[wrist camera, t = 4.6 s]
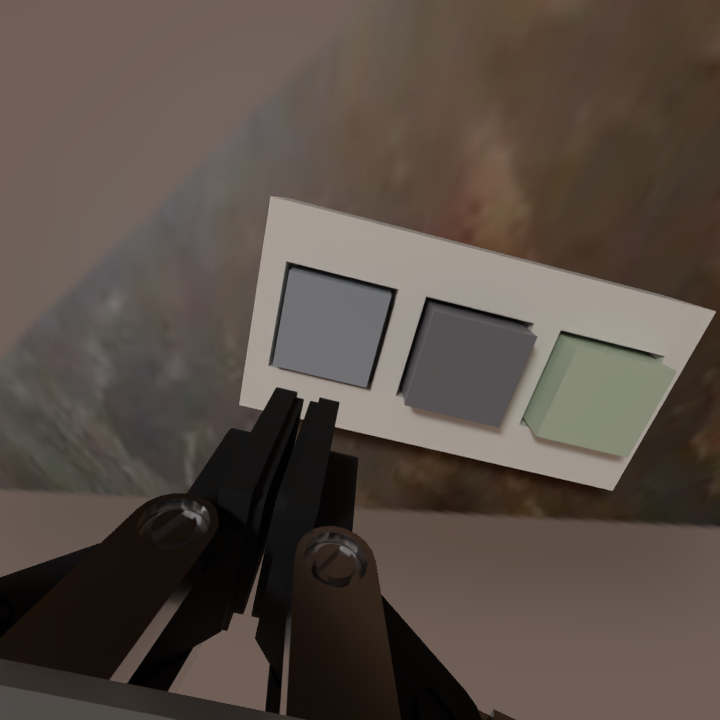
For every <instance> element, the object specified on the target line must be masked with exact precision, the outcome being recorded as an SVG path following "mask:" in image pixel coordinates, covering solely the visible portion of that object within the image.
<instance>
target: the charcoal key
mask: <svg viewBox="0 0 720 720" xmlns="http://www.w3.org/2000/svg"><path fill="white" fill-rule="evenodd" d="M536 339H537V336H536V335H535V334H534V333H532V332H531V331H530V330H529V329H527V328H526V327H525V326H524V325H522V324H521V323H520V322H519V321H517V320H515V319H511V318H507V317H503V316H499V315H495V314H491V313H487V312H483V311H479V310H475V309H471V308H467V307H463V306H459V305H455V304H451V303H447V302H443V301H439V300H435V299H431V298H426V301H425V304H424V307H423V311H422V314H421V317H420V320H419V324H418V327H417V330H416V333H415V337H414V340H413V343H412V346H411V350H410V353H409V356H408V360H407V363H406V366H405V369H404V373H403V376H402V379H401V385H402V392H403V399H404V405H405V406H410V407H414V408H418V409H422V410H427V411H431V412H435V413H439V414H444V415H448V416H452V417H457V418H461V419H465V420H469V421H474V422H478V423H482V424H486V425H491V426H495V427H500V424H501V422H502V420H503V417H504V415H505V413H506V410H507V408H508V406H509V403H510V401H511V398H512V396H513V394H514V391H515V389H516V387H517V384H518V382H519V380H520V377H521V375H522V372H523V370H524V368H525V365H526V363H527V361H528V358H529V356H530V354H531V351H532V349H533V346H534V344H535V342H536Z"/></svg>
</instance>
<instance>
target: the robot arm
mask: <svg viewBox="0 0 720 720" xmlns="http://www.w3.org/2000/svg"><path fill="white" fill-rule="evenodd" d="M303 403H304V399H302V398H297V392H296V391H292V390H287V389H283V388H279V387H276V389H275V390H274V392H273V394H272V396H271V397H270V399H269V401H268V403H267V405H266V406H265V408H264V410H263V412H262V413H261V415H260V417H259V419H258V421H257V422H256V424H255V426H254V428H253V429H252V431H251V432H247V431H243V430H239V429H234V428H231V429H230V430H229V431H228V433H227V434H226V436H225V437H224V439H223V440H222V442H221V443H220V445H219V446H218V448H217V449H216V451H215V452H214V454H213V455H212V457H211V458H210V460H209V461H208V463H207V464H206V466H205V467H204V469H203V470H202V472H201V473H200V475H199V476H198V478H197V479H196V481H195V482H194V484H193V485H192V487H191V488H190V490H189V491H188V493H171V494H166V495H161V496H158V497H156V498H154V499H151V500H149V501H147V502H146V503H144V504H143V505H141V506H140V507H139V508H137V509H136V510H135V511H134V512H133V513H132V514H131V515H130V516H129V517H128V518H127V519H126V520H124V521H123V522H122V523H121V524H120V525H119V526H118V527H117V528H116V529H115V530H114V531H113V532H112V533H111V534H110V535H109V536H107V538H105V539H104V540H103V541H102V542H101V543H99V544H96V545H93V546H90V547H87V548H84V549H81V550H79V551H76V552H73V553H70V554H67V555H64V556H61V557H58V558H55V559H53V560H49V561H47V562H44V563H41V564H38V565H35V566H32V567H29V568H26V569H23V570H21V571H18V572H15V573H12V574H9V575H6V576H3V577H1V578H0V720H515V719H513V718H511V717H509V716H507V715H505V714H502V713H500V712H498V711H496V710H493V711H492V712H491V714H490V715H488V714H486V713H483V712H481V711H479V710H478V709H477V707H476V705H475V703H474V702H473V701H472V699H471V698H470V696H469V695H468V694H467V692H466V691H465V689H464V688H463V687H462V686H461V685H460V684H459V683H458V682H457V680H456V679H455V678H454V677H453V676H452V675H451V673H450V672H449V671H448V670H447V669H446V668H445V667H444V665H443V664H442V663H441V662H440V661H439V660H438V659H437V658H436V656H435V655H434V654H433V653H432V652H431V651H430V650H429V649H428V647H427V646H426V645H425V644H424V643H423V642H422V640H421V639H420V638H419V637H418V636H417V635H416V634H415V632H414V631H413V630H412V629H411V628H410V627H409V626H408V624H407V623H406V622H405V621H404V620H403V619H402V618H401V616H400V615H399V614H398V613H397V612H396V611H395V610H394V608H393V607H392V606H391V605H390V604H389V603H388V602H387V601H386V599H385V598H384V597H383V596H382V595H381V591H380V585H379V579H378V573H377V566H376V561H375V558H374V555H373V552H372V550H371V549H370V547H369V546H368V545H367V543H366V542H365V541H364V540H363V539H362V538H361V537H359V536H358V535H357V534H355V533H353V532H352V528H353V516H354V504H355V492H356V480H357V467H358V457H355V456H350V455H346V454H342V453H337V452H333V451H330V449H331V444H332V439H333V434H334V429H335V424H336V419H337V414H338V409H339V404H340V402H338V401H333V400H329V399H325V398H321V397H320V398H319V401H318V402H314V401H310V403H309V406H308V408H307V411H306V414H305V417H304V420H303V423H302V426H301V428H300V431H299V434H298V437H297V440H296V435H297V431H298V426H299V421H300V417H301V412H302V408H303ZM295 440H296V443H295ZM294 445H295V446H294ZM264 551H265V552H264ZM263 554H264V557H263V562H262V567H261V571H260V577H259V581H258V586H257V591H256V595H255V600H254V605H253V611H252V616H253V617H258V618H259V623H258V627H257V632H256V637H255V639H256V641H257V643H258V644H259V646H260V648H261V650H262V651H263V653H264V655H265V657H266V658H267V660H268V666H267V670H266V677H265V686H264V696H263V706H262V711H260V710H255V709H250V708H245V707H240V706H235V705H231V704H226V703H221V702H216V701H211V700H206V699H201V698H196V697H191V696H186V695H181V694H176V693H177V691H178V689H179V687H180V685H181V684H182V682H183V680H184V678H185V677H186V675H187V673H188V671H189V670H190V668H191V666H192V664H193V662H194V661H195V659H196V657H197V654H198V651H199V649H200V646H201V643H202V642H204V641H205V640H207V639H209V638H211V637H212V636H214V635H216V634H217V633H219V632H221V631H222V630H226V631H227V630H228V627H229V624H230V621H231V619H232V615H233V613H238V614H243V613H244V611H245V608H246V605H247V602H248V599H249V596H250V593H251V590H252V587H253V584H254V581H255V578H256V574H257V572H258V569H259V566H260V563H261V559H262V556H263Z"/></svg>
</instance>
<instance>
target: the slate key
mask: <svg viewBox="0 0 720 720" xmlns="http://www.w3.org/2000/svg"><path fill="white" fill-rule="evenodd" d="M390 299H391V291H390V287H387V286H383V285H379V284H375V283H371V282H367V281H363V280H359V279H355V278H351V277H347V276H343V275H339V274H335V273H331V272H327V271H323V270H319V269H315V268H311V267H307V266H303V265H299V264H297V265H296V266H295V267H293V268H292V269H291V270H289V275H288V281H287V287H286V292H285V298H284V303H283V309H282V315H281V320H280V326H279V332H278V337H277V343H276V349H275V354H274V360H273V365H272V366H277V367H281V368H285V369H289V370H293V371H298V372H302V373H306V374H310V375H315V376H319V377H323V378H327V379H332V380H336V381H340V382H344V383H349V384H353V385H357V386H361V387H365V388H366V387H367V383H368V380H369V376H370V372H371V369H372V365H373V361H374V358H375V354H376V350H377V347H378V343H379V340H380V336H381V332H382V329H383V325H384V321H385V318H386V314H387V310H388V307H389V303H390Z"/></svg>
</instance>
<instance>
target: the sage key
mask: <svg viewBox="0 0 720 720" xmlns="http://www.w3.org/2000/svg"><path fill="white" fill-rule="evenodd" d="M676 373H677V371H676V370H674V369H672V368H670V367H668V366H666V365H665V364H663V363H661V362H659V361H657V360H655V359H654V358H652V357H650V356H648V355H646V354H644V353H642V352H641V351H639V350H635V349H631V348H627V347H623V346H619V345H615V344H611V343H607V342H603V341H599V340H595V339H591V338H587V337H583V336H579V335H575V334H571V333H567V332H563V331H560V333H559V336H558V338H557V340H556V342H555V345H554V347H553V349H552V351H551V354H550V356H549V358H548V360H547V363H546V365H545V367H544V369H543V372H542V374H541V376H540V378H539V381H538V383H537V385H536V388H535V390H534V392H533V394H532V397H531V399H530V401H529V403H528V406H527V408H526V410H525V412H524V415H523V418H524V419H525V421H526V422H527V424H528V425H529V426H530V428H531V429H532V431H533V432H534V434H535V435H536V436H537V437H542V438H546V439H550V440H554V441H559V442H563V443H567V444H571V445H576V446H580V447H584V448H588V449H593V450H597V451H601V452H605V453H610V454H614V455H618V456H622V457H627V458H628V456H629V455H630V453H631V451H632V450H633V448H634V446H635V444H636V443H637V441H638V439H639V437H640V436H641V434H642V432H643V430H644V429H645V427H646V425H647V423H648V422H649V420H650V418H651V416H652V415H653V413H654V411H655V409H656V408H657V406H658V404H659V402H660V401H661V399H662V397H663V395H664V394H665V392H666V390H667V389H668V387H669V385H670V383H671V382H672V380H673V378H674V376H675V375H676Z"/></svg>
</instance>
